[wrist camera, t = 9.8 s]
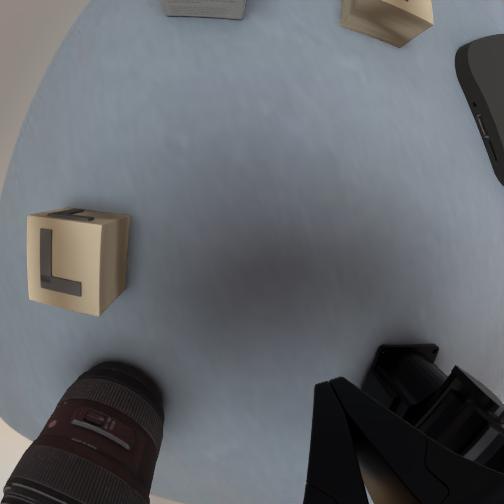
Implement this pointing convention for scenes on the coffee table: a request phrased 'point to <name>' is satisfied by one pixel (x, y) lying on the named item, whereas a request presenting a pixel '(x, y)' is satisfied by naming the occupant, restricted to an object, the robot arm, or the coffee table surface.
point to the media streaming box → (485, 92)
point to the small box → (205, 8)
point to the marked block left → (77, 258)
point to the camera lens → (94, 443)
